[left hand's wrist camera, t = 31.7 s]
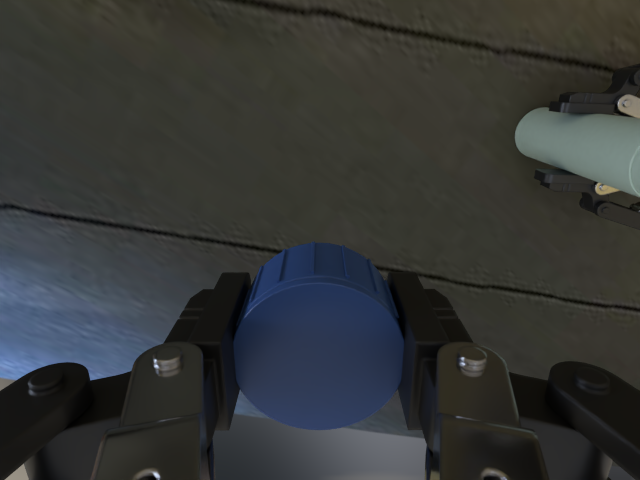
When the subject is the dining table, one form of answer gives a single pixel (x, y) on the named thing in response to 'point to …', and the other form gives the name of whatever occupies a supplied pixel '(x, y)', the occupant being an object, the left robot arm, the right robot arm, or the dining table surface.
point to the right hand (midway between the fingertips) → (547, 142)
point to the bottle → (585, 145)
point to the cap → (318, 338)
